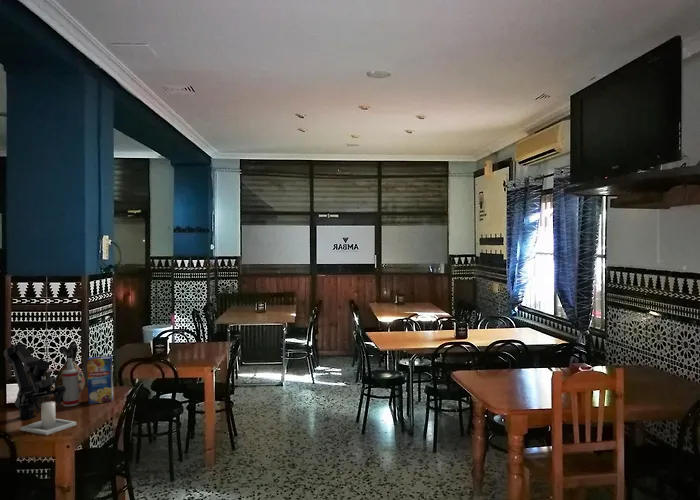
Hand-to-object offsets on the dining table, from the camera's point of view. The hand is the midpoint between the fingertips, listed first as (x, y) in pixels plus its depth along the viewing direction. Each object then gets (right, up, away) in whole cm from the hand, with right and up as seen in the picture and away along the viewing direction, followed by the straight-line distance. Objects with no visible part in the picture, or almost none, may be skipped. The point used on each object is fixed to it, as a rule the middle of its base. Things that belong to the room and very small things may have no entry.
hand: (49, 409), depth 277 cm
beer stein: (-27, -9, +42) cm, 51 cm away
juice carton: (+4, -9, +48) cm, 49 cm away
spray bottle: (-10, -9, +42) cm, 44 cm away
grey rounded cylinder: (-1, -8, +1) cm, 8 cm away
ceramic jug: (-17, -9, +58) cm, 61 cm away
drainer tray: (-1, -9, +1) cm, 9 cm away
